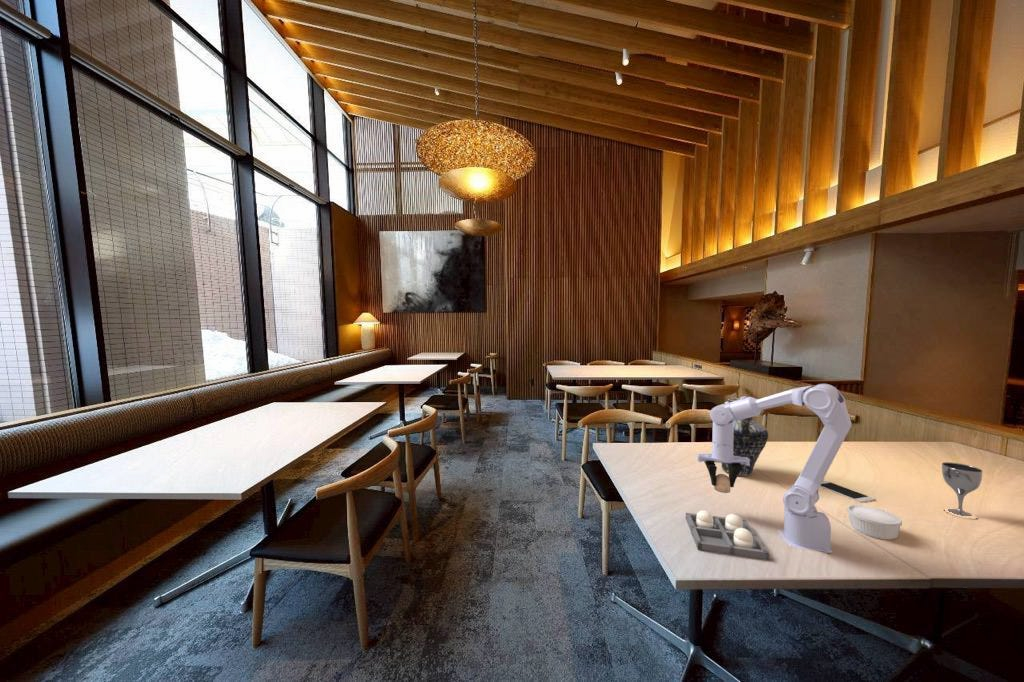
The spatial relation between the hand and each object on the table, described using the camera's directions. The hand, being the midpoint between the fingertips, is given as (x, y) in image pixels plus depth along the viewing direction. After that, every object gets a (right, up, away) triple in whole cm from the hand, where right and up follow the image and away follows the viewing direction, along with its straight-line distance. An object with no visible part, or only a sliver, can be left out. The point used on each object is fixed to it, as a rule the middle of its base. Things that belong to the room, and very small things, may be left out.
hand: (722, 485), depth 113 cm
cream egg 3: (-5, -9, -18) cm, 21 cm away
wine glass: (+75, -9, 0) cm, 76 cm away
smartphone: (+53, -9, +16) cm, 56 cm away
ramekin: (+38, -10, -9) cm, 41 cm away
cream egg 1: (-10, -9, -8) cm, 16 cm away
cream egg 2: (-3, -9, -10) cm, 14 cm away
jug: (+26, -8, +33) cm, 43 cm away
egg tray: (-8, -10, -13) cm, 18 cm away
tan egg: (0, -1, 0) cm, 1 cm away
